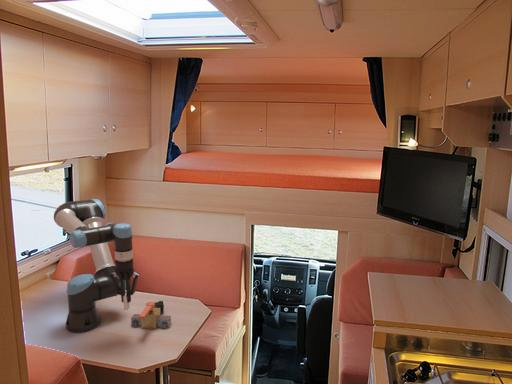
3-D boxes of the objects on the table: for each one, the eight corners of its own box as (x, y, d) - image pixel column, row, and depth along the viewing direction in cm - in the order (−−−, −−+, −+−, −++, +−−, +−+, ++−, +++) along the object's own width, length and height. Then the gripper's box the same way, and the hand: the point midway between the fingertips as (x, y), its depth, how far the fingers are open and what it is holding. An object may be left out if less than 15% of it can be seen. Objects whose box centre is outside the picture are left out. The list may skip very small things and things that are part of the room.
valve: (130, 327, 190) (129, 309, 188) (135, 320, 196) (134, 302, 195) (167, 329, 188) (167, 311, 187) (171, 321, 195) (171, 304, 194)
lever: (147, 304, 193) (147, 301, 192) (156, 304, 192) (156, 301, 192) (137, 319, 179) (137, 315, 179) (146, 319, 179) (146, 316, 178)
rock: (150, 321, 195) (149, 310, 194) (144, 312, 204) (144, 302, 203) (168, 317, 200) (167, 306, 199) (161, 308, 208) (161, 298, 207)
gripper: (106, 261, 174) (109, 312, 178) (135, 262, 173) (137, 313, 177) (113, 255, 181) (116, 304, 186) (141, 256, 180) (143, 305, 185)
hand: (126, 308), depth 182 cm, fingers closed
